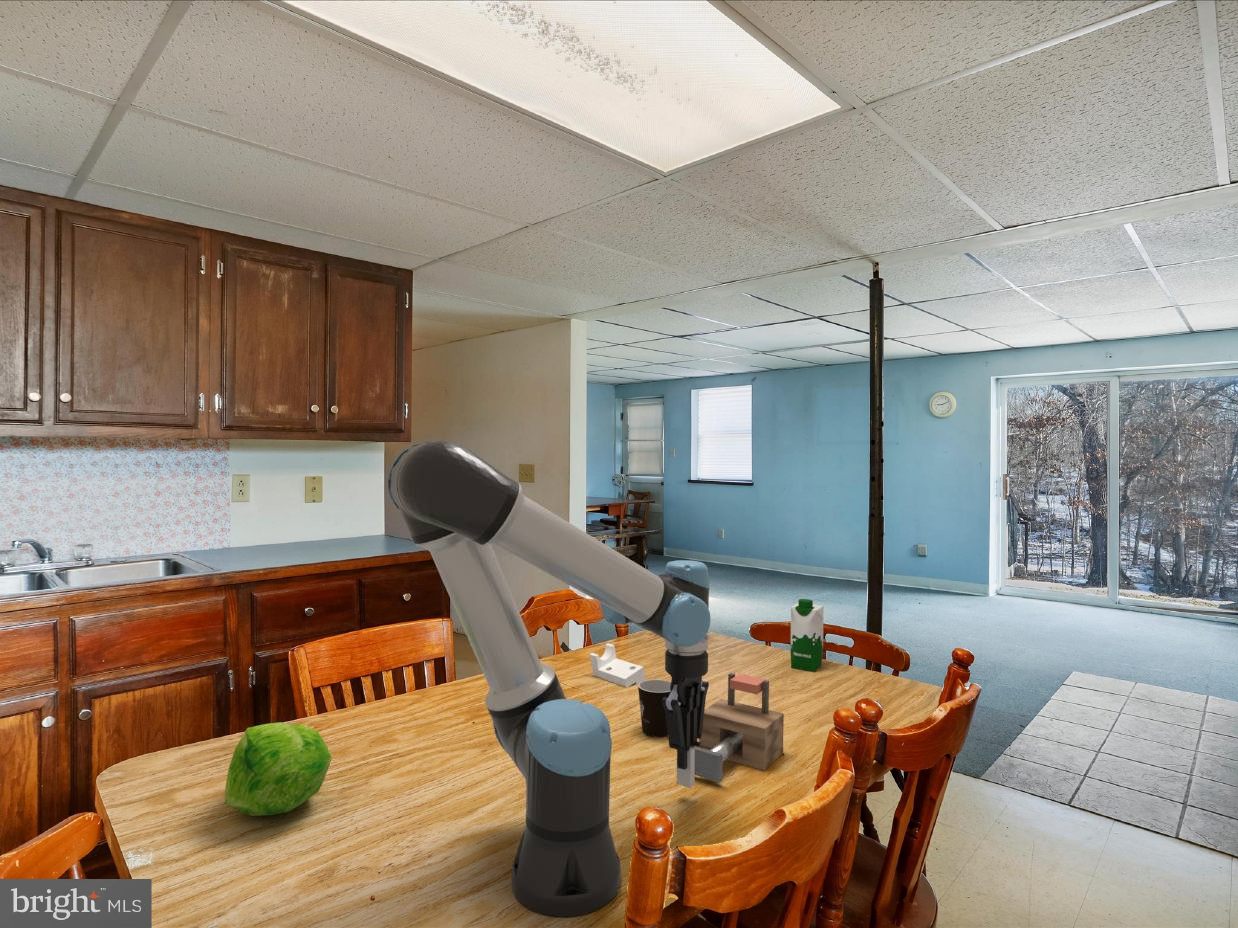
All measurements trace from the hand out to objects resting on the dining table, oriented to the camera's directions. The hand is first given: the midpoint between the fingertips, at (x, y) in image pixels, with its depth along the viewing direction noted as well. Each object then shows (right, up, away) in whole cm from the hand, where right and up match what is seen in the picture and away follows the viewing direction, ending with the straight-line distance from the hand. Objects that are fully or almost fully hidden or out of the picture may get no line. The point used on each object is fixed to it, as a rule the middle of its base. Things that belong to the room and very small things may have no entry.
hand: (685, 784), depth 116 cm
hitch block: (+13, -3, +20) cm, 24 cm away
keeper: (+15, +9, +22) cm, 29 cm away
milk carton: (+44, -4, +79) cm, 90 cm away
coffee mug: (-3, -3, +31) cm, 31 cm away
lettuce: (-69, -2, -5) cm, 69 cm away
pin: (+8, -2, +12) cm, 15 cm away
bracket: (-12, -3, +65) cm, 66 cm away
